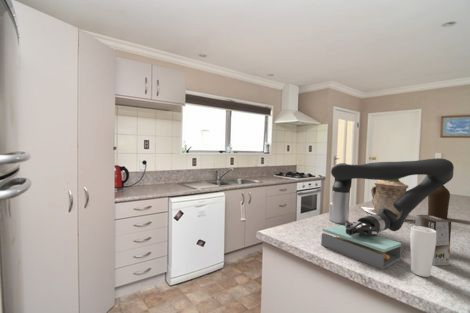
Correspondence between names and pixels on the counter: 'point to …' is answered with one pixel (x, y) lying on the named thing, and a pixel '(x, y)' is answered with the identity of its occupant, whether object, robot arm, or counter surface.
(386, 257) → the wooden dowel rod
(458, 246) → the counter surface
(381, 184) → the cookie jar
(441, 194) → the olive oil
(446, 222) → the coffee box
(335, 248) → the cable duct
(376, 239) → the panel
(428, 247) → the white tapered cylinder
